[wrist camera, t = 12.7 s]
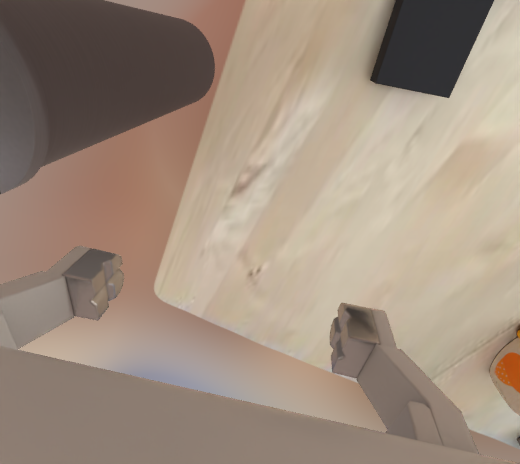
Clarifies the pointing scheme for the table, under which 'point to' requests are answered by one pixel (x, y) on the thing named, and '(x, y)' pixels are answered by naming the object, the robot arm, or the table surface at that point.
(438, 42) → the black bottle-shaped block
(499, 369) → the shape sorter
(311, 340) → the table surface
